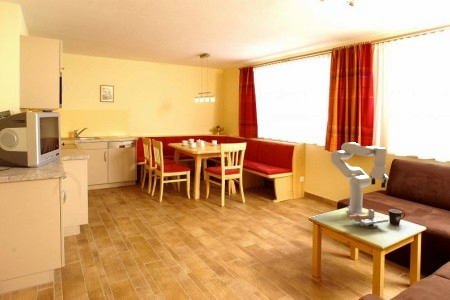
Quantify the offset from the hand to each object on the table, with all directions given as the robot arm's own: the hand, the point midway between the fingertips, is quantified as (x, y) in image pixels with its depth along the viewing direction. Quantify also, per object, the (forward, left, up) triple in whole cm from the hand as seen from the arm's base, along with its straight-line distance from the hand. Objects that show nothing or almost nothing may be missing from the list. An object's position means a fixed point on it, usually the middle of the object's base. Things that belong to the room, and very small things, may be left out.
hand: (378, 185), depth 228 cm
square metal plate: (+6, -15, -28) cm, 32 cm away
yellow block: (+6, -18, -27) cm, 33 cm away
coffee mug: (+10, +10, -28) cm, 31 cm away
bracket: (+6, -27, -21) cm, 35 cm away
